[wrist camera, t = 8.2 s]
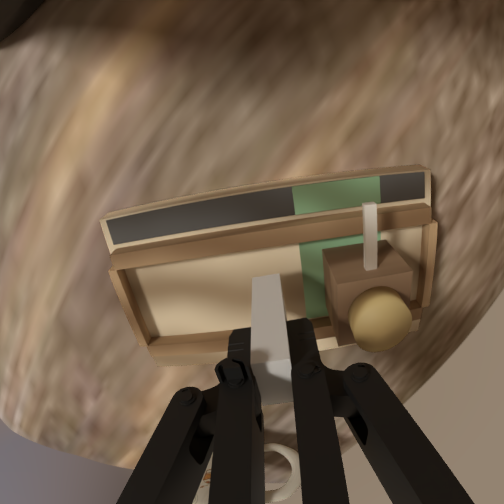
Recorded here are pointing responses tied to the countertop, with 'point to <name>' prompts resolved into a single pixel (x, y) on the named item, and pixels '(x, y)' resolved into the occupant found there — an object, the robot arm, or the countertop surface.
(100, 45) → the countertop surface
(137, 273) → the tuner board
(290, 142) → the countertop surface
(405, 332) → the slider knob
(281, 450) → the mug
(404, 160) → the countertop surface
